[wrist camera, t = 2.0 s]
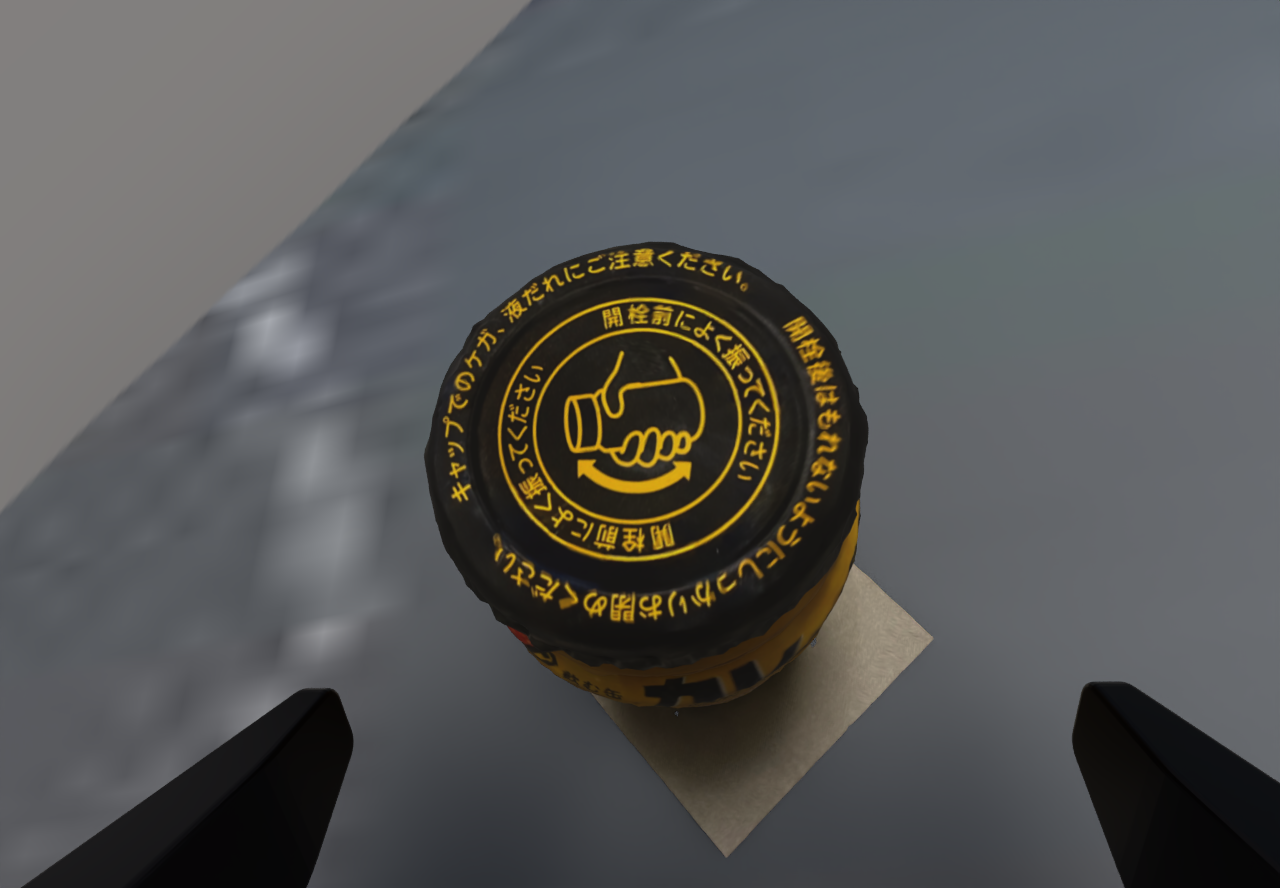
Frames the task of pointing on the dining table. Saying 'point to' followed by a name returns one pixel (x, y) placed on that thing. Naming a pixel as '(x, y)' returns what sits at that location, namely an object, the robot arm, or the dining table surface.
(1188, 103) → the dining table surface
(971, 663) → the dining table surface
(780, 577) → the condiment
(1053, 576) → the dining table surface
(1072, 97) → the dining table surface
